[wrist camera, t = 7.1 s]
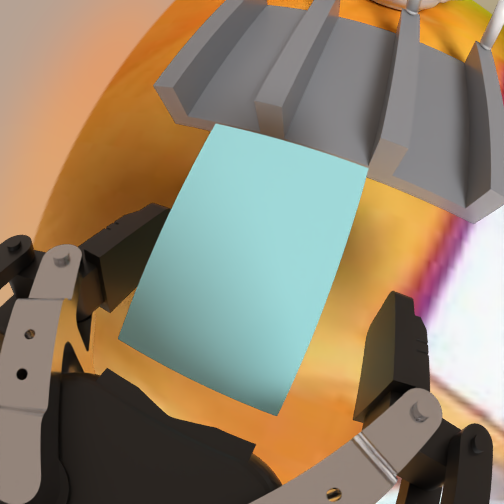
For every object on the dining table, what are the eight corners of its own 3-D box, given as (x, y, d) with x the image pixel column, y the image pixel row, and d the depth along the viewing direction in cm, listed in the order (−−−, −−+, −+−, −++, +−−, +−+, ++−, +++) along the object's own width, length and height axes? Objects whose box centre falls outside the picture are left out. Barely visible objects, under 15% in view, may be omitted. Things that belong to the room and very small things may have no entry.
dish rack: (473, 79, 17) (516, -3, 7) (473, 224, 14) (582, 145, 5) (254, 13, 21) (236, -77, 11) (175, 123, 18) (108, 9, 9)
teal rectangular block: (322, 262, 15) (368, 168, 6) (287, 354, 14) (276, 416, 5) (261, 239, 16) (215, 123, 6) (224, 328, 15) (118, 338, 5)
